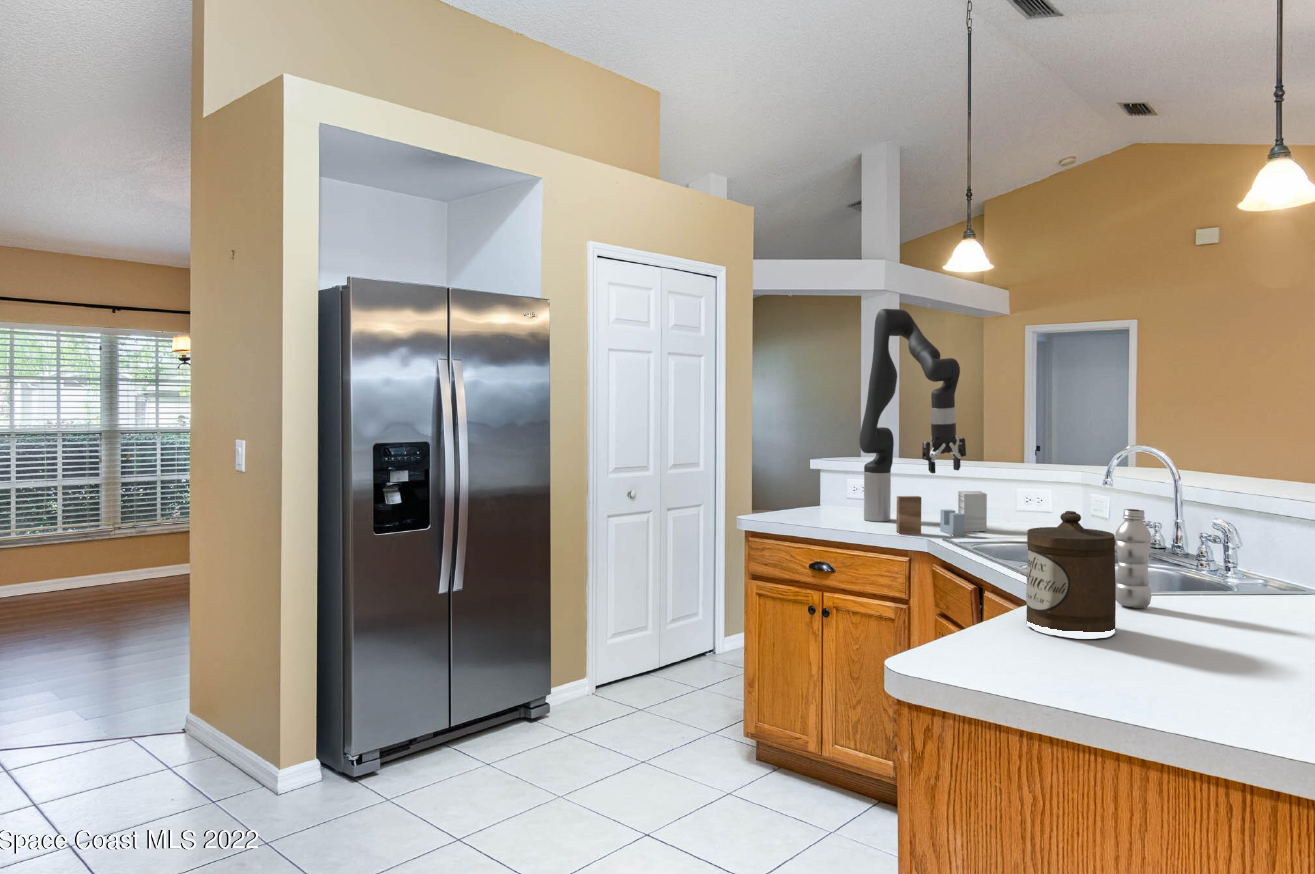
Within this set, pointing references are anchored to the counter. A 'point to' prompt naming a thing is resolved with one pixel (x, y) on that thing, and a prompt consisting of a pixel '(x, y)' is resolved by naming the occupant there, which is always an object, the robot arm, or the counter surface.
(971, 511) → the supplement box
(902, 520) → the walnut plate
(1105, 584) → the wooden container
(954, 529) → the slotted base
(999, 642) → the counter surface
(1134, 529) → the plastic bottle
